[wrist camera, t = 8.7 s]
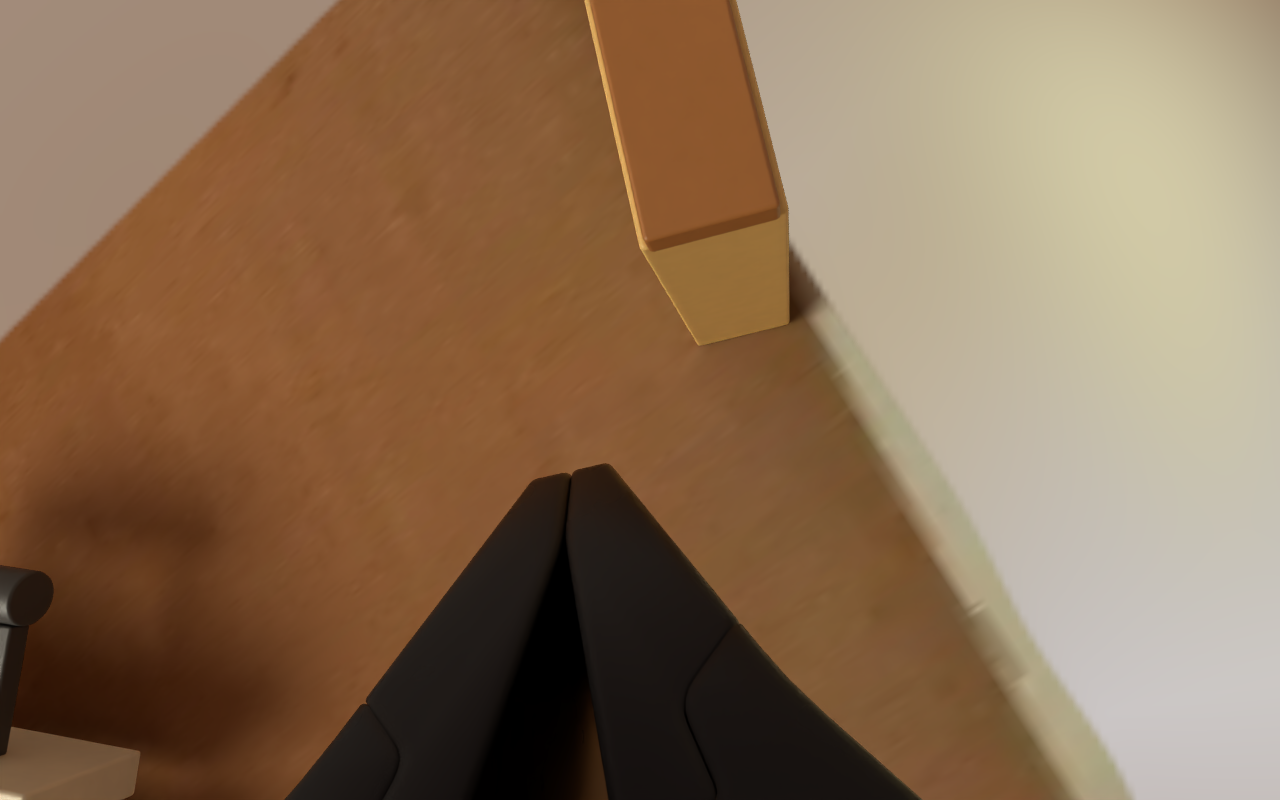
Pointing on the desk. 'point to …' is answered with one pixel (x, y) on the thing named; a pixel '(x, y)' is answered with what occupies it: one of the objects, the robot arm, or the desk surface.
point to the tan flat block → (697, 160)
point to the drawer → (39, 762)
